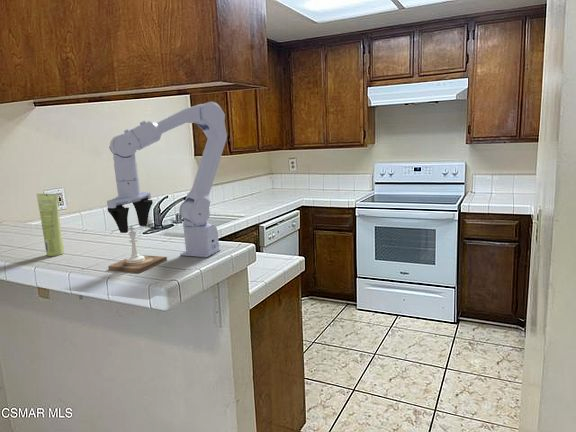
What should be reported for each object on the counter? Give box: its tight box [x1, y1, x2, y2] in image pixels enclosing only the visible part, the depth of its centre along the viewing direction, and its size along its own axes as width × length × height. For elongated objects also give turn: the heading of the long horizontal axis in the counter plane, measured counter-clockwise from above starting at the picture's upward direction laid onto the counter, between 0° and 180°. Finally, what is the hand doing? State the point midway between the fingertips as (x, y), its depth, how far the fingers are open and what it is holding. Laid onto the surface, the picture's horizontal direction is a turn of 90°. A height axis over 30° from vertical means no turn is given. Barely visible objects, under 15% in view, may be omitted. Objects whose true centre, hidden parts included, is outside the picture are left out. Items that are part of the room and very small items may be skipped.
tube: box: [36, 193, 65, 257], centre depth 137 cm, size 6×5×20 cm
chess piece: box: [126, 225, 145, 263], centre depth 122 cm, size 5×5×10 cm
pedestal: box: [107, 254, 168, 274], centre depth 122 cm, size 11×11×1 cm
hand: (133, 229), depth 120 cm, fingers open, 7 cm apart
